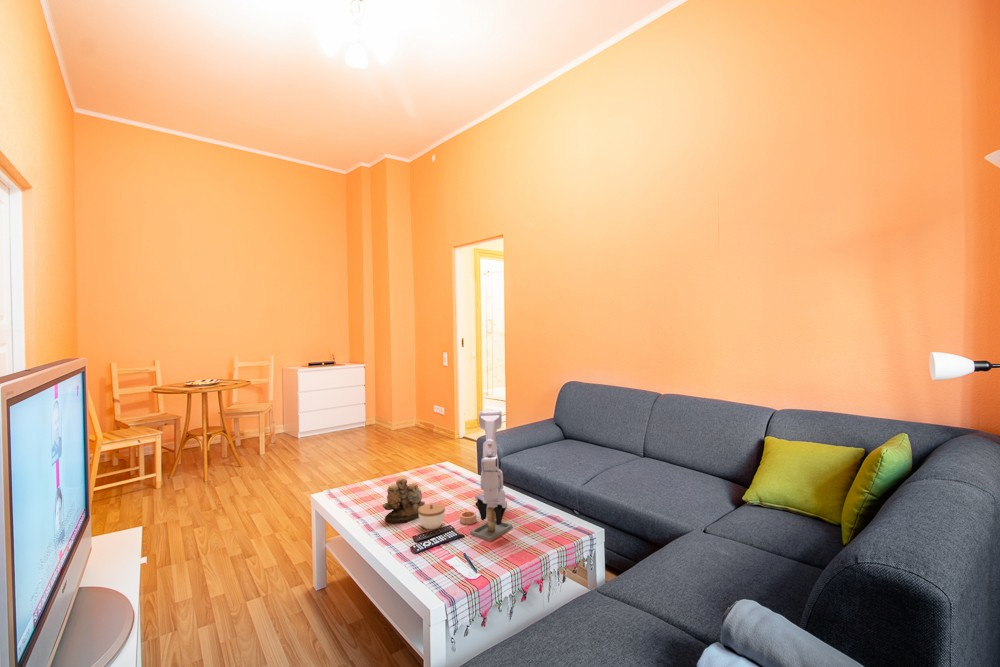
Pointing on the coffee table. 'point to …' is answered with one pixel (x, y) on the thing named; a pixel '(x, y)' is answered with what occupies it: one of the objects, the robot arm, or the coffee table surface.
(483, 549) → the coffee table surface
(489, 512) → the dowel
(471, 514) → the cup
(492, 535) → the tray
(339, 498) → the coffee table surface
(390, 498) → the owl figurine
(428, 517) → the lidded jar
